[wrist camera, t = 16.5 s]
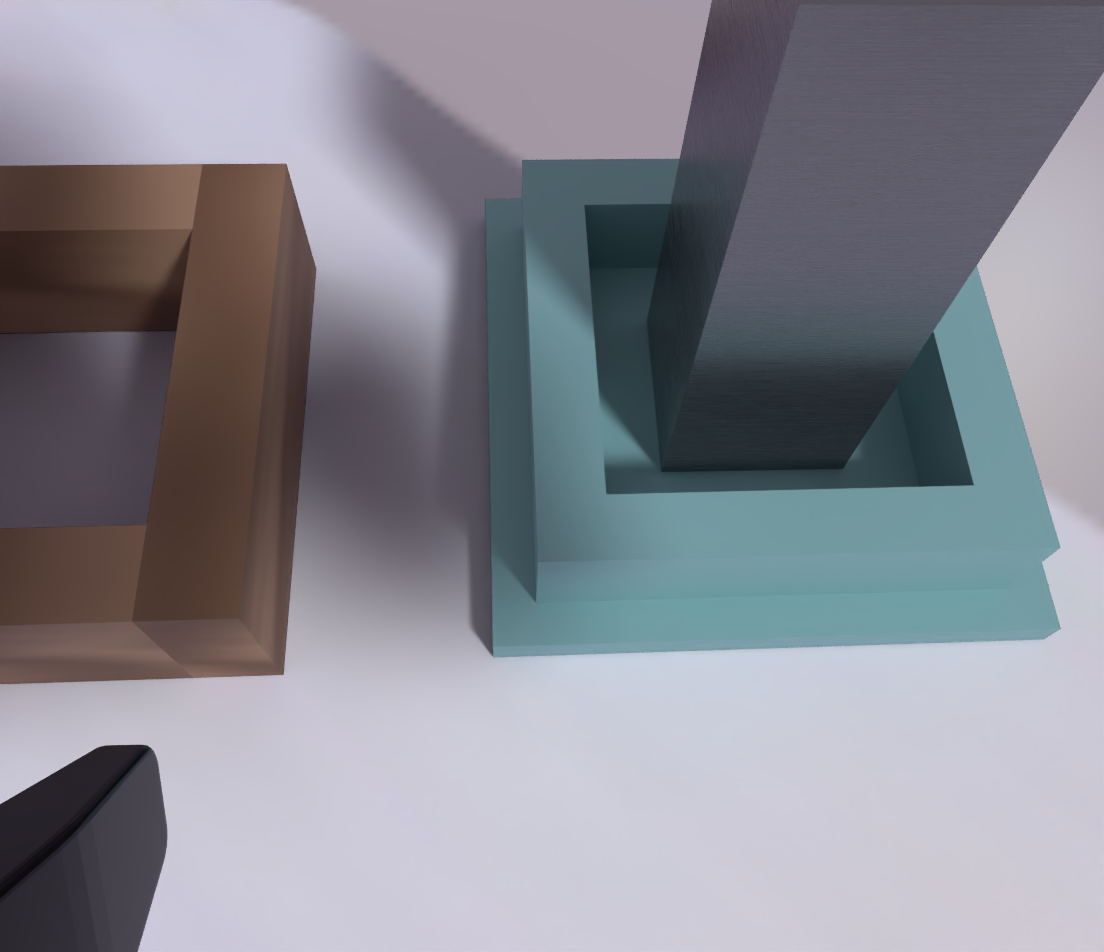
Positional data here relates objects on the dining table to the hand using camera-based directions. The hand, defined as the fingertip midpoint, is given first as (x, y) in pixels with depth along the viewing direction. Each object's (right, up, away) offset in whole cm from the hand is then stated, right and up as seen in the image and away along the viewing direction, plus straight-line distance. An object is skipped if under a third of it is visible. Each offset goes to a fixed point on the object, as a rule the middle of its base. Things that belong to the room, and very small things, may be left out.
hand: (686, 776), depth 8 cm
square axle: (+4, +5, +17) cm, 18 cm away
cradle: (+4, +4, +17) cm, 18 cm away
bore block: (-13, +3, +16) cm, 21 cm away
